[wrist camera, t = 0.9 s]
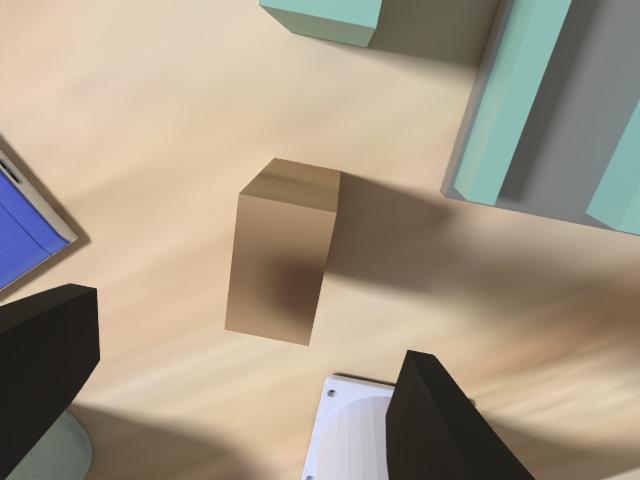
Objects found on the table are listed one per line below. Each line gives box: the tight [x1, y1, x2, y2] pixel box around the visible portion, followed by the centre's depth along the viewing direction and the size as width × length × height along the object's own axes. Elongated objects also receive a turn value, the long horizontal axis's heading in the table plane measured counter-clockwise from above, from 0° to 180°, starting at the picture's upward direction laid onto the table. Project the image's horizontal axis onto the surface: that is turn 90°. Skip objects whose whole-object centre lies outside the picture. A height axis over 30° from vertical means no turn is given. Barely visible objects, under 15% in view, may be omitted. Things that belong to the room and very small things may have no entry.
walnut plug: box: [225, 158, 341, 346], centre depth 15 cm, size 5×3×6 cm, turn 170°
